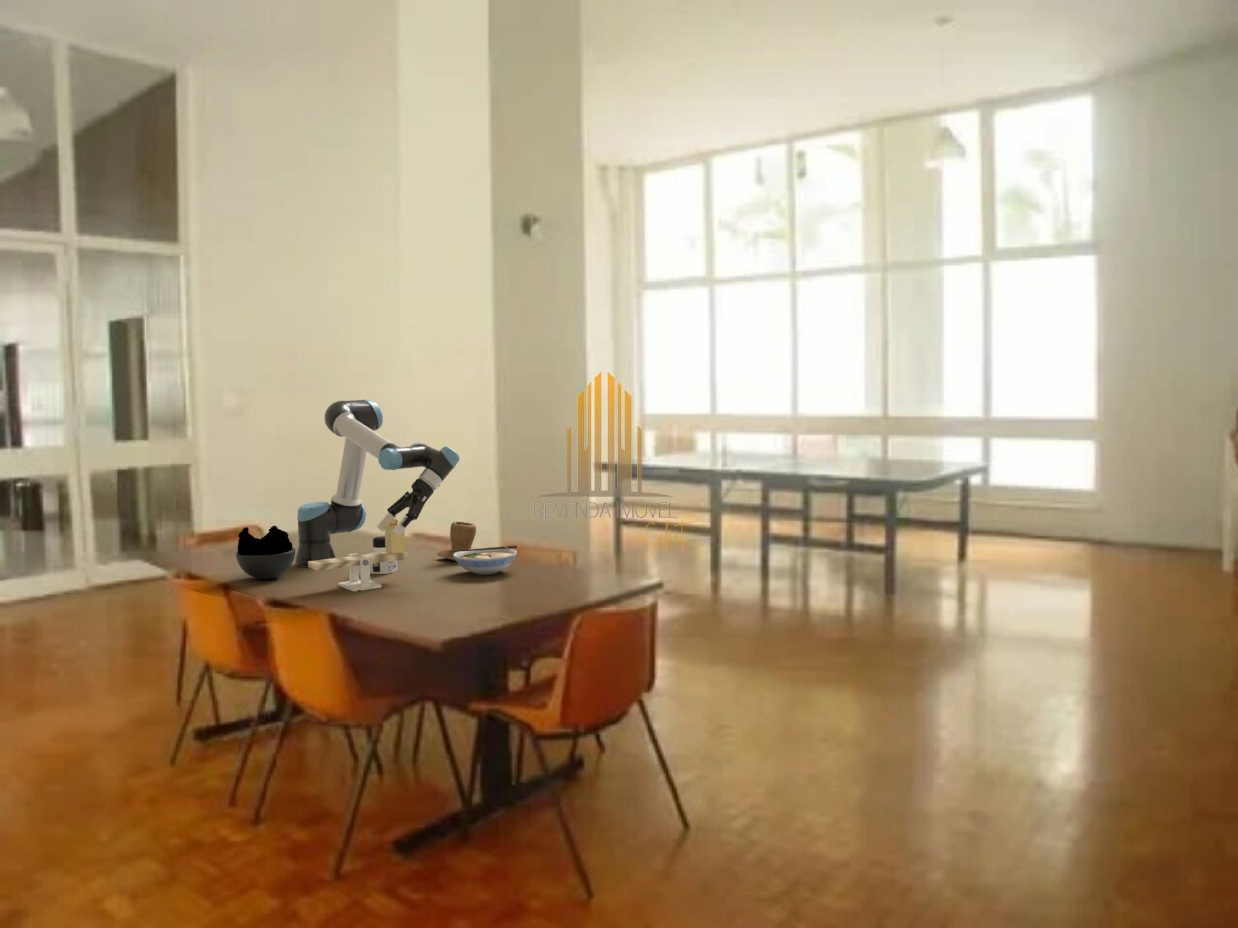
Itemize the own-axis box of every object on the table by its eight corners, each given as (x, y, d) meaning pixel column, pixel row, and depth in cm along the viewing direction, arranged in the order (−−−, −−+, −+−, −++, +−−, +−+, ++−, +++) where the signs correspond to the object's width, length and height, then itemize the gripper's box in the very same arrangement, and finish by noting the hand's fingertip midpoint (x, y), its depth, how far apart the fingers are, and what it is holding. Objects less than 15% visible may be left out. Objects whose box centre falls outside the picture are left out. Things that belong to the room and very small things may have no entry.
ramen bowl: (454, 581, 343) (453, 558, 343) (447, 570, 365) (446, 548, 365) (526, 576, 350) (525, 553, 349) (515, 565, 372) (514, 543, 371)
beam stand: (353, 591, 330) (351, 560, 329) (338, 585, 340) (337, 555, 339) (381, 587, 336) (380, 556, 335) (366, 581, 346) (365, 551, 345)
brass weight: (385, 552, 346) (384, 519, 345) (399, 551, 349) (398, 518, 348) (391, 554, 342) (390, 521, 341) (405, 552, 345) (404, 519, 344)
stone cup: (482, 560, 385) (481, 521, 383) (455, 564, 377) (454, 525, 376) (462, 555, 396) (461, 518, 395) (436, 559, 389) (434, 521, 388)
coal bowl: (308, 575, 360) (306, 523, 359) (268, 586, 342) (265, 531, 340) (266, 572, 368) (263, 521, 367) (224, 582, 350) (221, 529, 349)
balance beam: (316, 570, 325) (316, 564, 325) (308, 567, 331) (307, 561, 331) (407, 559, 344) (407, 553, 343) (398, 556, 350) (398, 550, 350)
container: (388, 574, 360) (387, 538, 358) (368, 573, 361) (367, 538, 360) (397, 570, 367) (396, 535, 366) (378, 569, 369) (376, 535, 368)
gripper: (449, 494, 342) (410, 542, 335) (418, 488, 362) (380, 534, 355) (434, 479, 339) (395, 528, 331) (403, 475, 359) (365, 520, 351)
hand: (387, 531), depth 343 cm, fingers open, 13 cm apart
